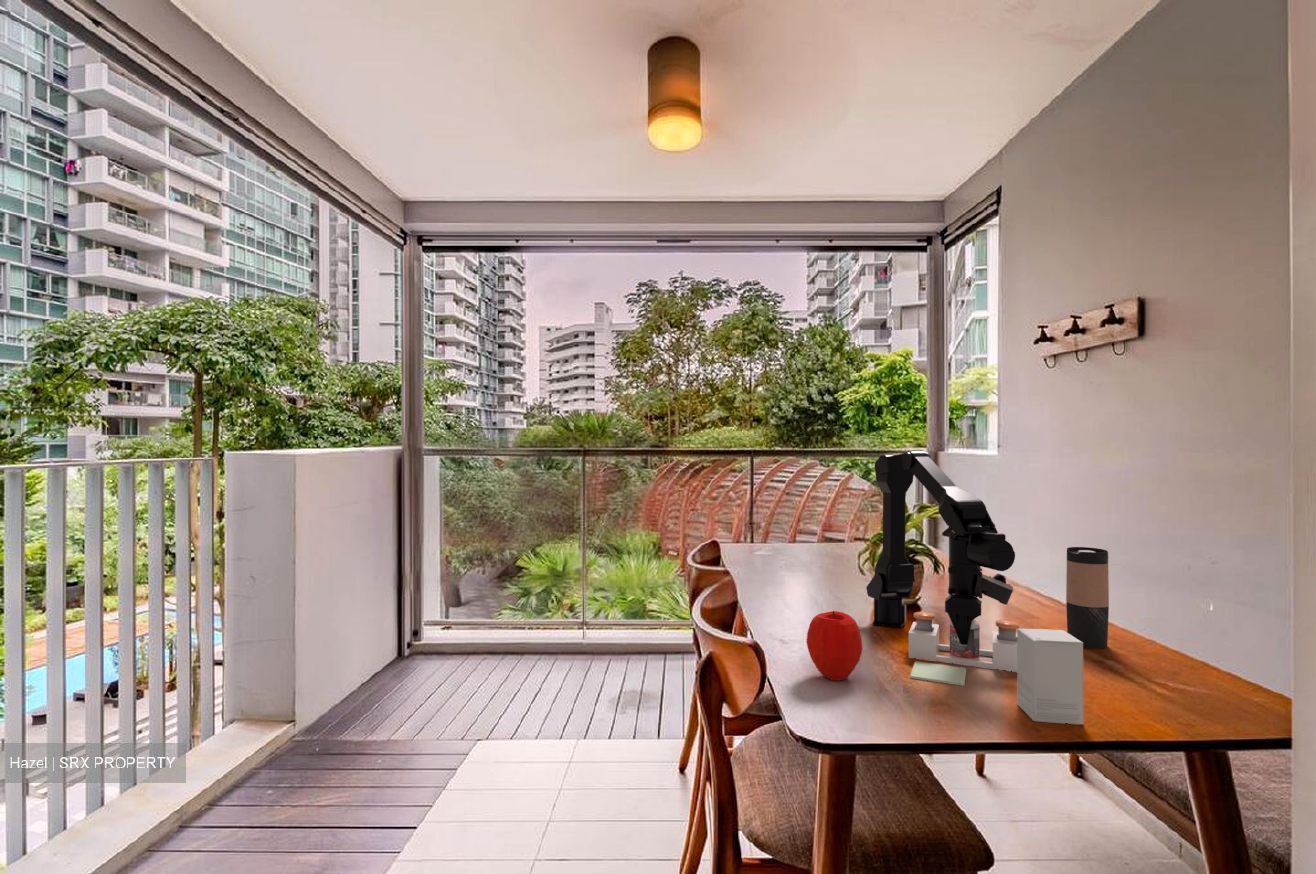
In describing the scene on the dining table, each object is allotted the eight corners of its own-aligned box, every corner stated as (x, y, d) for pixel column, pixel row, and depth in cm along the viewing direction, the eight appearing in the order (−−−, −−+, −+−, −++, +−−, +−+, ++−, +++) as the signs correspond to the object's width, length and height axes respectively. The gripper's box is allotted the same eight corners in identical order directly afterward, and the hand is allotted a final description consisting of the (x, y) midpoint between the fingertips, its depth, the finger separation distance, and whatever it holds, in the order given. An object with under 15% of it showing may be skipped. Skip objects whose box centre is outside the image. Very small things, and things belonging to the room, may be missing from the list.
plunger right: (995, 650, 131) (995, 624, 131) (995, 644, 134) (995, 619, 134) (1019, 653, 129) (1019, 627, 129) (1018, 647, 133) (1018, 622, 133)
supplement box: (1085, 725, 104) (1085, 642, 104) (1032, 722, 105) (1032, 640, 105) (1065, 707, 111) (1064, 629, 111) (1015, 703, 112) (1015, 627, 112)
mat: (910, 678, 124) (910, 675, 124) (915, 663, 132) (915, 661, 132) (964, 686, 120) (964, 683, 120) (966, 670, 128) (966, 668, 128)
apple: (813, 665, 131) (813, 601, 131) (866, 672, 127) (866, 607, 127) (800, 681, 122) (800, 613, 122) (857, 690, 118) (857, 620, 118)
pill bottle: (946, 659, 135) (946, 609, 135) (954, 652, 139) (954, 604, 139) (975, 664, 131) (975, 614, 131) (983, 658, 135) (983, 608, 135)
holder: (908, 657, 135) (908, 632, 135) (913, 645, 144) (913, 621, 144) (1022, 673, 127) (1022, 646, 127) (1020, 659, 135) (1020, 633, 135)
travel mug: (1105, 641, 147) (1105, 548, 147) (1112, 651, 140) (1111, 553, 140) (1064, 637, 150) (1064, 545, 150) (1068, 646, 143) (1068, 551, 143)
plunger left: (912, 640, 138) (912, 615, 138) (914, 635, 141) (914, 611, 141) (934, 643, 136) (934, 618, 136) (935, 637, 139) (935, 613, 139)
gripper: (1011, 573, 123) (1011, 660, 123) (1009, 557, 140) (1009, 633, 140) (944, 568, 128) (944, 651, 128) (950, 553, 145) (950, 627, 145)
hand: (964, 640), depth 135 cm, fingers closed on pill bottle, 5 cm apart
